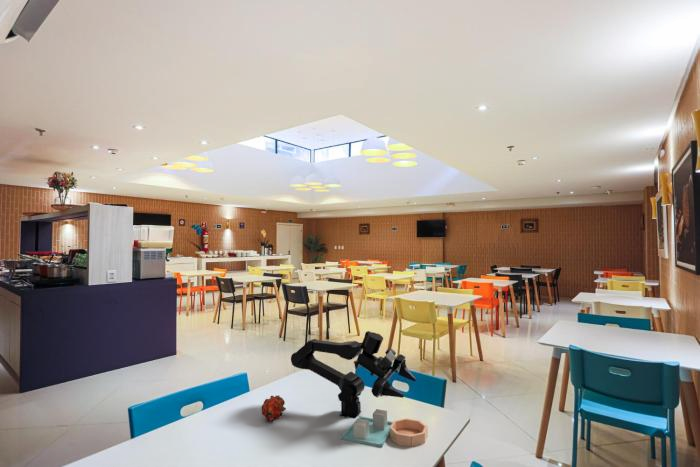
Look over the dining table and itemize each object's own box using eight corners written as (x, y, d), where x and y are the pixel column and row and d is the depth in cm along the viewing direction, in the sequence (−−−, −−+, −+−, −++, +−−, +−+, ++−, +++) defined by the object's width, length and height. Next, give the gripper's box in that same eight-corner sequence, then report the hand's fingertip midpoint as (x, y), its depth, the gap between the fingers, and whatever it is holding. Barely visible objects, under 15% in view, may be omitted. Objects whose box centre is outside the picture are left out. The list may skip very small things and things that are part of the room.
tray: (341, 440, 122) (341, 436, 122) (359, 419, 136) (359, 416, 136) (382, 448, 116) (381, 444, 116) (396, 425, 131) (396, 422, 131)
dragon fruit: (280, 414, 146) (270, 434, 134) (263, 401, 146) (251, 420, 134) (292, 398, 144) (283, 416, 132) (274, 385, 145) (263, 403, 133)
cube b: (373, 428, 128) (372, 413, 129) (376, 423, 132) (376, 409, 132) (383, 430, 127) (383, 415, 127) (387, 425, 130) (387, 410, 131)
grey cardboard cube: (353, 439, 122) (353, 423, 122) (358, 433, 125) (357, 418, 125) (365, 441, 120) (364, 425, 120) (369, 435, 124) (368, 420, 124)
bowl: (386, 443, 119) (386, 431, 119) (396, 426, 130) (396, 416, 130) (422, 449, 115) (422, 438, 115) (429, 432, 125) (429, 422, 125)
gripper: (362, 362, 126) (402, 388, 118) (389, 334, 140) (426, 356, 132) (357, 385, 131) (395, 411, 123) (384, 356, 145) (419, 378, 138)
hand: (409, 388), depth 129 cm, fingers open, 9 cm apart
